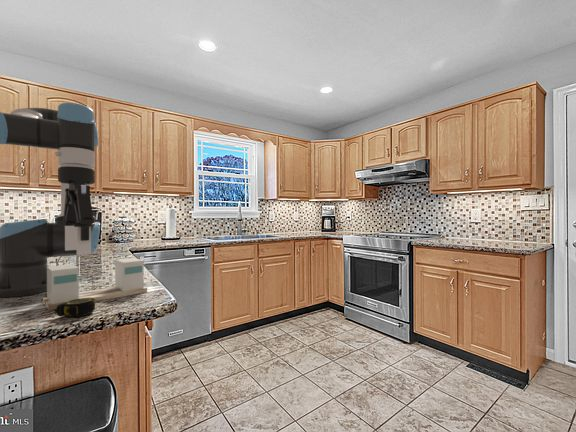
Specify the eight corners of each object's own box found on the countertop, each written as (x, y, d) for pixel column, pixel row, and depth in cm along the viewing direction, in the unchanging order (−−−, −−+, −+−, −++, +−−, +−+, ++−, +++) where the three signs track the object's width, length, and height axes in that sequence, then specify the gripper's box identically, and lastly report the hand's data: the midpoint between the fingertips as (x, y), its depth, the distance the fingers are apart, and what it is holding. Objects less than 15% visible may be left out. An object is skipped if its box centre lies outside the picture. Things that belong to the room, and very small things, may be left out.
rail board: (43, 302, 84) (43, 296, 84) (135, 286, 102) (135, 282, 102) (48, 310, 77) (48, 304, 77) (147, 291, 95) (147, 287, 95)
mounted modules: (47, 298, 84) (46, 266, 83) (134, 283, 101) (134, 257, 101) (51, 304, 78) (51, 270, 78) (143, 288, 95) (143, 260, 95)
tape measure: (79, 309, 78) (79, 295, 78) (101, 311, 77) (101, 297, 77) (54, 319, 71) (54, 303, 71) (78, 320, 70) (78, 305, 70)
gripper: (49, 171, 79) (50, 249, 79) (68, 158, 62) (69, 258, 62) (82, 174, 84) (83, 247, 85) (108, 163, 67) (109, 255, 67)
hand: (77, 252), depth 73 cm, fingers open, 13 cm apart
